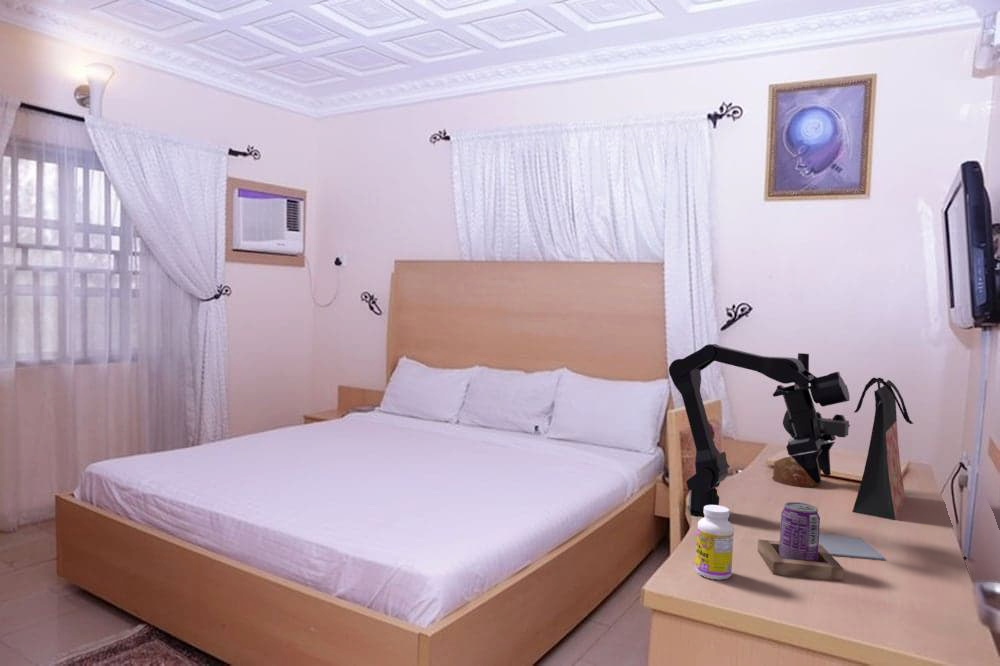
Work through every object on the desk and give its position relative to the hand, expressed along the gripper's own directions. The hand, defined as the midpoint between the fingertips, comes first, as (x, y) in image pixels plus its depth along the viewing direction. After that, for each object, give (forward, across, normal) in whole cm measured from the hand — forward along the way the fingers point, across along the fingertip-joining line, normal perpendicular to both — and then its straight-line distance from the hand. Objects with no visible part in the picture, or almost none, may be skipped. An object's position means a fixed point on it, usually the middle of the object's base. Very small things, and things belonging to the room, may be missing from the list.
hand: (823, 479), depth 148 cm
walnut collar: (+13, -20, +4) cm, 24 cm away
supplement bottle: (+10, -37, +15) cm, 41 cm away
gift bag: (+15, +41, 0) cm, 44 cm away
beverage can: (+13, -20, +5) cm, 24 cm away
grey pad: (+15, -1, 0) cm, 15 cm away
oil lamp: (+7, +52, +22) cm, 57 cm away
